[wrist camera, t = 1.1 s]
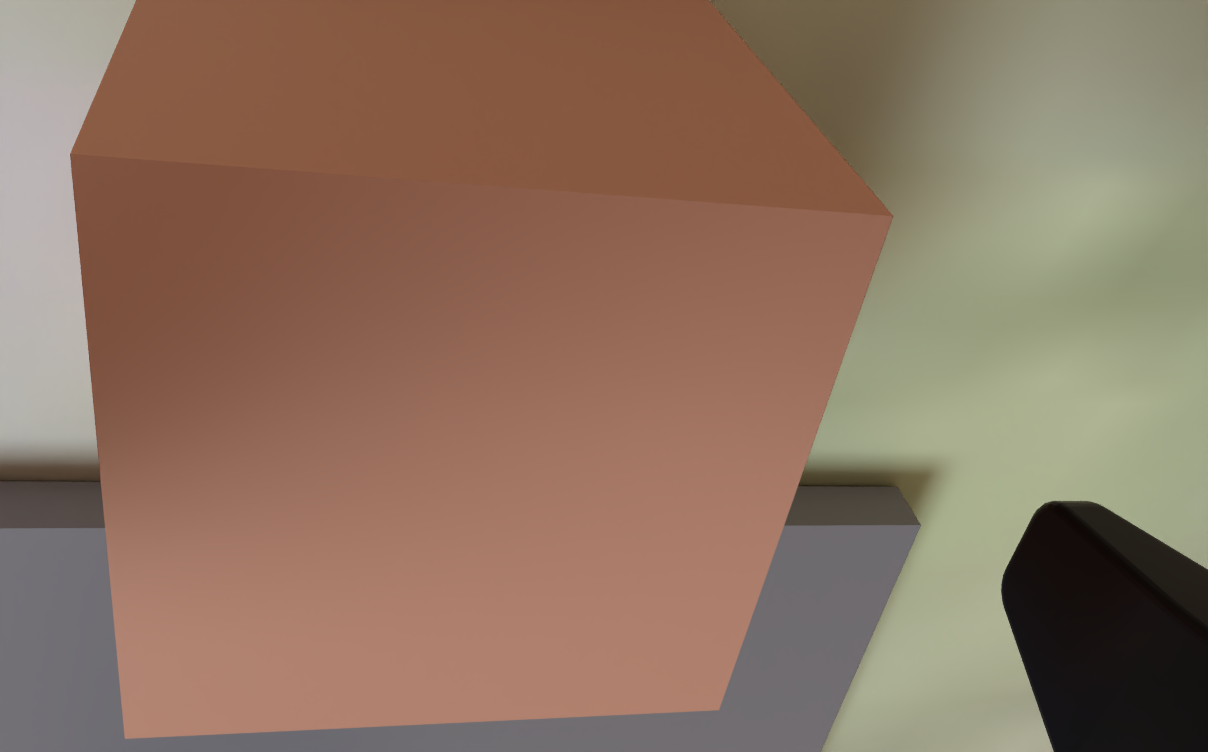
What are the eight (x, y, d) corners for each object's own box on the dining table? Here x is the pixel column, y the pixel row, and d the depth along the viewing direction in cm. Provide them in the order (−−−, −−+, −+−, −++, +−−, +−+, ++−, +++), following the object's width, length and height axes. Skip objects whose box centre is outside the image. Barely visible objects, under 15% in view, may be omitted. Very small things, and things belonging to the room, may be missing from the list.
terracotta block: (609, 387, 14) (718, 710, 10) (187, 374, 13) (124, 739, 9) (696, -14, 11) (893, 215, 7) (171, -81, 10) (71, 154, 6)
